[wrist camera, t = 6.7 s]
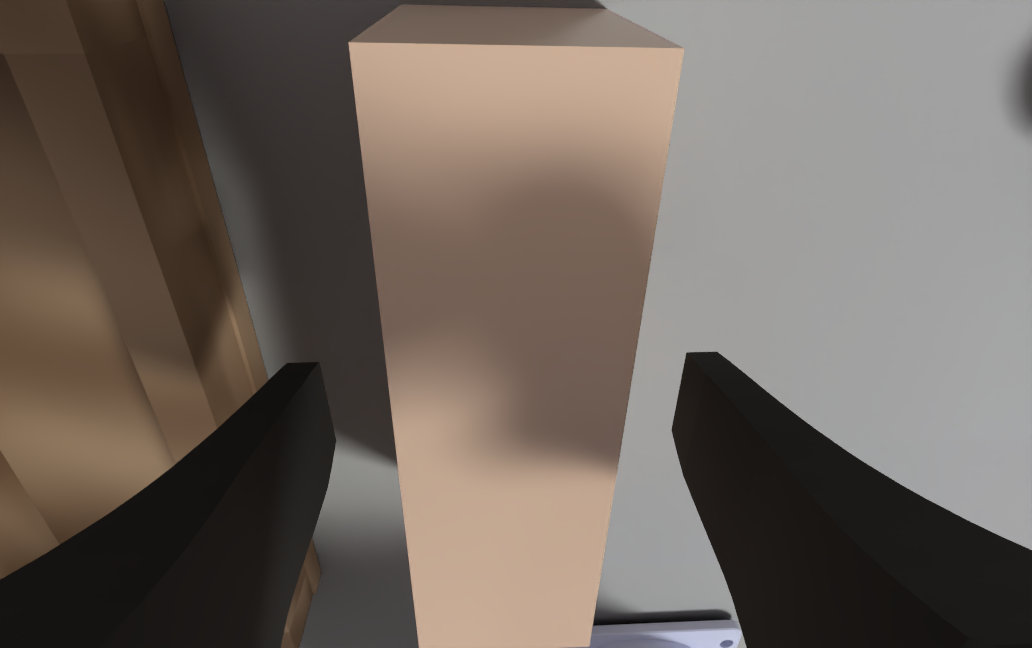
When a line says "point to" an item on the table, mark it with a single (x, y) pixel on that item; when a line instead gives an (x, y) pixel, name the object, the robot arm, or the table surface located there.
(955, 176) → the table surface
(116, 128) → the wooden tray
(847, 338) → the table surface
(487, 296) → the tan rectangular block
